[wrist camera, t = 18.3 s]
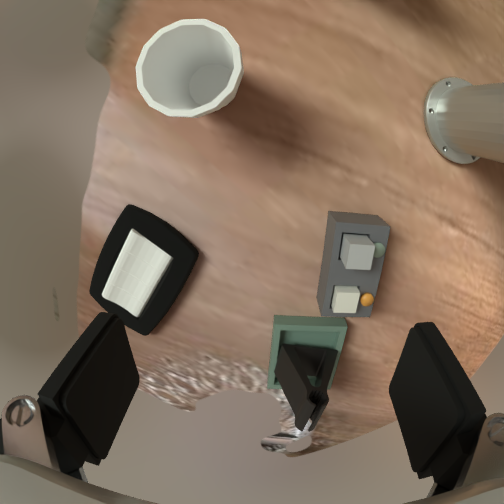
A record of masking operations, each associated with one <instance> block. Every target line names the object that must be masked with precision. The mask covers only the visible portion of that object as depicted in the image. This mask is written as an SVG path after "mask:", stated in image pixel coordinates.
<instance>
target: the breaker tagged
mask: <svg viewBox="0 0 504 504" xmlns="http://www.w3.org/2000/svg"><path fill="white" fill-rule="evenodd" d="M359 296H360V292H359V290H358V288H357V286H346V285H334V286H333V292H332V297H331V306H332V309H333V313H356V309H357V305H358V301H359Z"/></svg>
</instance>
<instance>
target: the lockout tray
mask: <svg viewBox="0 0 504 504" xmlns="http://www.w3.org/2000/svg"><path fill="white" fill-rule="evenodd" d="M347 327H348V326H347V323H346V320H345V318H338V317H305V316H282V315H274V322H273V332H272V342H271V352H270V361H269V371H268V384H267V388H269V389H282V388H281V385H280V383H279V381H278V379H277V377H276V375H275V373H274V370H275V366H276V363H277V360H278V356H279V353H280V350H281V346H282V344H283V343H285V344H293V345H300V346H308V347H310V348H311V347H317V348H326V349H335V350H338V354H337V357H336V361H335V364H334V368H333V371H332V374H331V378H330V381H329V384H328V387H327V389H330V388H331V385H332V381H333V378H334V375H335V371H336V368H337V364H338V361H339V357H340V354H341V350H342V346H343V343H344V339H345V335H346V331H347ZM308 379H309V381H310V383H311V385H312V386H315V381H316V377H315V376H308Z"/></svg>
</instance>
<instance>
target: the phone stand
mask: <svg viewBox="0 0 504 504" xmlns="http://www.w3.org/2000/svg"><path fill="white" fill-rule="evenodd" d="M337 354H338V350H335V349H326V348H317V347H311V348H310V347H308V346H300V345H293V344H285V343H283V344H282V346H281V350H280V353H279V356H278V360H277V363H276V366H275V370H274V373H275V375H276V377H277V379H278V381H279V383H280V385H281V388H282V390H283V392H284V394H285V396H286V398H287V400H288V402H289V404H290V406H291V408H292V410H293V412H294V414H295V426H296V427H297V428H298V429H299V430H301V431H303V429H304V427H305V425H306V423H307V422H308V420H309V418H310V419H311V420H312V424H311V426H310V427H309V429H308V431H312V430H313V429H314V428H315V426H316V424H317V422H318V420H319V419H320V417H321V415H322V413H323V411H324V409H325V408H326V406H327V404H328V402H329V397H328V395H327V387H328V384H329V381H330V378H331V374H332V371H333V368H334V364H335V361H336V357H337ZM308 376H315V377H316V381H315V386H312V385H311V383H310V381H309V379H308Z"/></svg>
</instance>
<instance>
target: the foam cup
mask: <svg viewBox="0 0 504 504" xmlns="http://www.w3.org/2000/svg"><path fill="white" fill-rule="evenodd" d="M243 74H244V69H243V61H242V53H241V50H240V47H239V45H238V44H237V42H236V41H235V40H234V38H233V37H232V36H231V34H230V33H229V32H228V30H227V29H226V28H224V27H222V26H220V25H218V24H215V23H213V22H211V21H208V20H206V19H185V20H180V21H177V22H175V23H173V24H170V25H168V26H166V27H164V28H162V29H160V30H159V31H158V32H157V33H156V34H155V35H154V36H153V37H152V38H151V39H150V40H149V41H148V42H147V43H146V44H145V45H144V46H143V49H142V51H141V54H140V57H139V59H138V62H137V65H136V78H137V88H138V90H139V91H140V93H141V94H142V96H143V97H144V99H145V100H146V102H147V103H148V105H149V106H150V107H152V108H154V109H156V110H158V111H160V112H162V113H164V114H165V115H167V116H172V117H189V118H199V117H202V116H204V115H207V114H209V113H212V112H215V111H217V110H220V109H221V108H222V107H224V106H227V105H228V104H229V103H230V102H231V101H232V100H233V99H234V98H235V95H236V93H237V90H238V87H239V85H240V82H241V79H242V77H243Z"/></svg>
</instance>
